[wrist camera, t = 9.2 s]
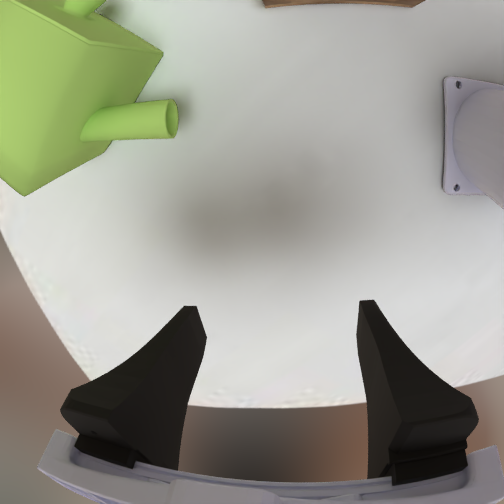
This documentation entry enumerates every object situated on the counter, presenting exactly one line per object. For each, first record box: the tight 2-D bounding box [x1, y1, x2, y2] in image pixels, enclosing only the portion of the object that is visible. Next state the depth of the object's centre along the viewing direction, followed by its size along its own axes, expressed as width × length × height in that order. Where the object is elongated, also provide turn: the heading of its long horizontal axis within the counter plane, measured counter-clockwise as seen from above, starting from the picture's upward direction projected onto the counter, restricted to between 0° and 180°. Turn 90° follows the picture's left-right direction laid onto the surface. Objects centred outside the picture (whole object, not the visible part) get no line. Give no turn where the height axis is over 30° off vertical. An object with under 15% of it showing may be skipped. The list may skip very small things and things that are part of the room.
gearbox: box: [0, 0, 178, 197], centre depth 13 cm, size 18×10×10 cm, turn 51°
